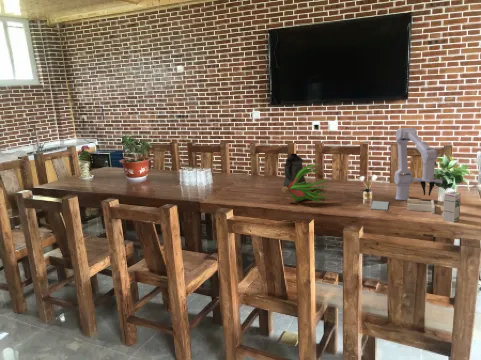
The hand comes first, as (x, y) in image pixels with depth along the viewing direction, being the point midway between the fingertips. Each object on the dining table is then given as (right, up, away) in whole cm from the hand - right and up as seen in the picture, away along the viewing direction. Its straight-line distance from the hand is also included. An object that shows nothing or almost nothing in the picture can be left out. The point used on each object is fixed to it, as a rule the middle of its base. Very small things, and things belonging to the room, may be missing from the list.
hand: (426, 194), depth 221 cm
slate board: (-22, -7, +12) cm, 26 cm away
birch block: (-5, -8, +4) cm, 11 cm away
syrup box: (+4, -12, -17) cm, 21 cm away
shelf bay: (-2, -8, +3) cm, 9 cm away
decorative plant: (-63, -5, +30) cm, 70 cm away
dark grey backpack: (-66, +2, +62) cm, 90 cm away
